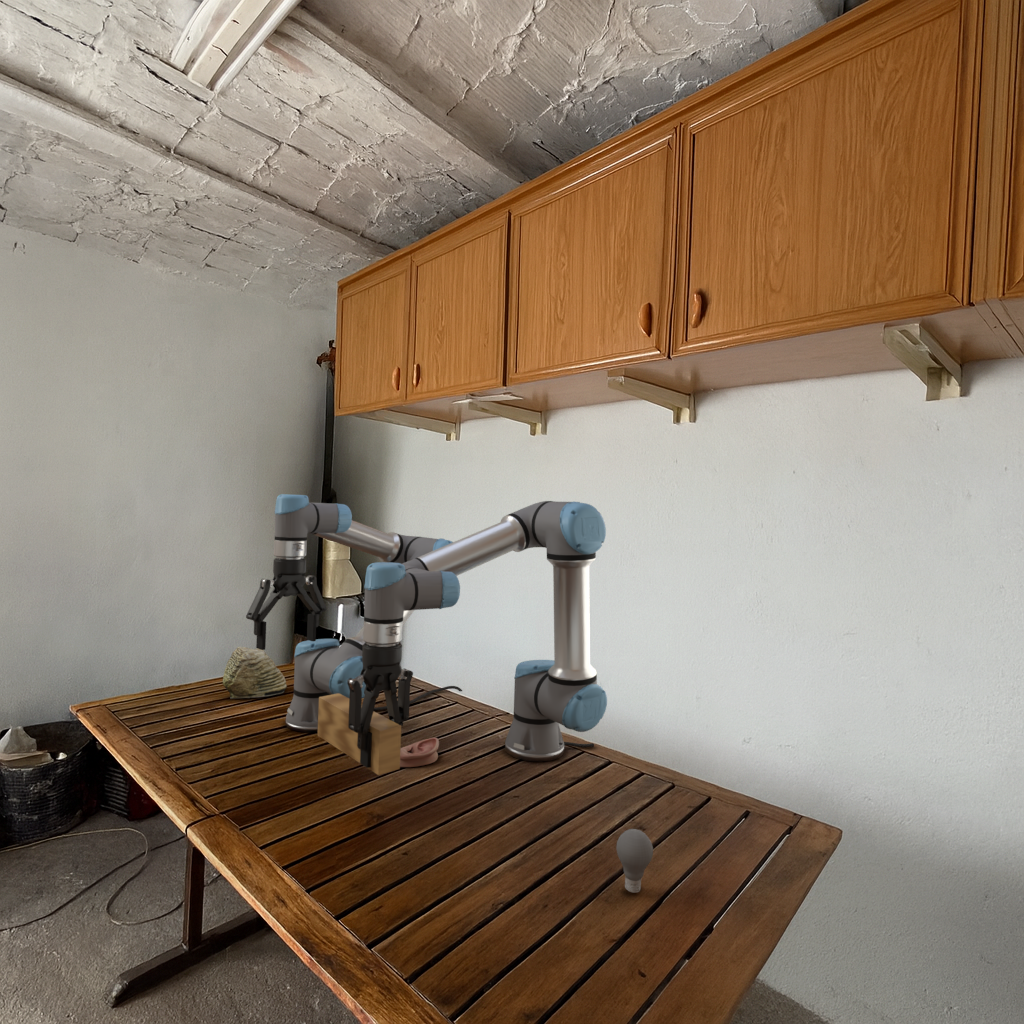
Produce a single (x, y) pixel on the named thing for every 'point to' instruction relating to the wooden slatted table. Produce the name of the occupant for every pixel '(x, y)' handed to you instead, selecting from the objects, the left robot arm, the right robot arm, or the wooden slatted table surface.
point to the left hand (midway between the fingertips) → (286, 644)
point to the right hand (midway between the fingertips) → (377, 761)
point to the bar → (340, 736)
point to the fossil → (252, 674)
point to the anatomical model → (419, 753)
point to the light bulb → (634, 857)
